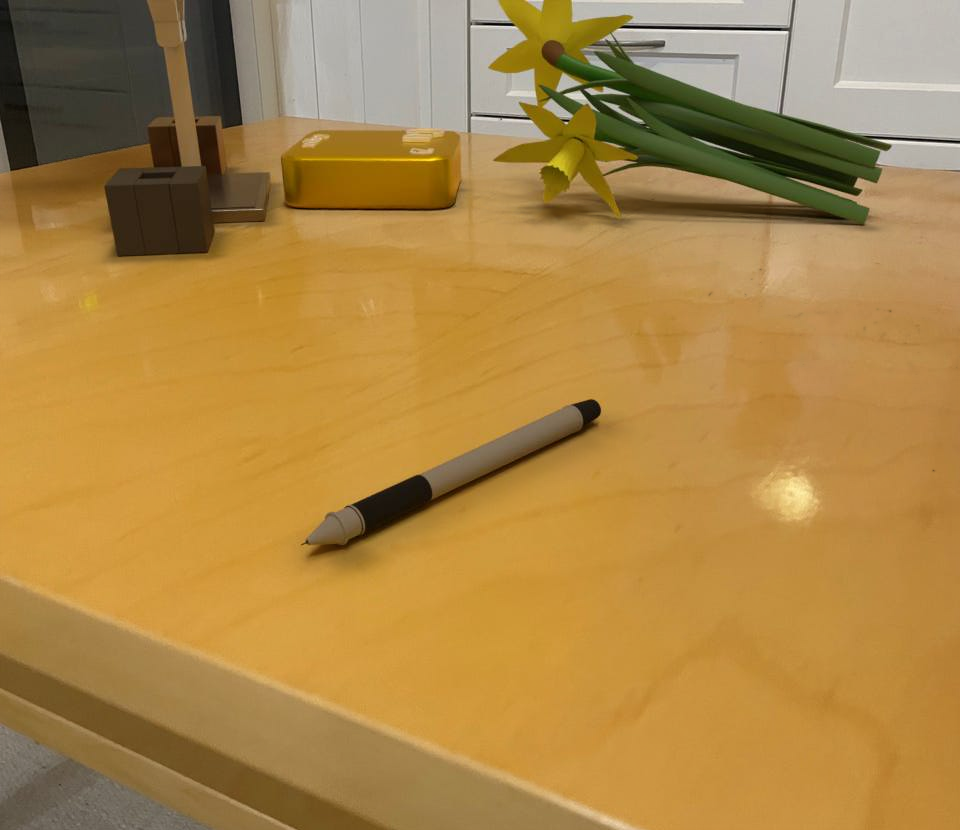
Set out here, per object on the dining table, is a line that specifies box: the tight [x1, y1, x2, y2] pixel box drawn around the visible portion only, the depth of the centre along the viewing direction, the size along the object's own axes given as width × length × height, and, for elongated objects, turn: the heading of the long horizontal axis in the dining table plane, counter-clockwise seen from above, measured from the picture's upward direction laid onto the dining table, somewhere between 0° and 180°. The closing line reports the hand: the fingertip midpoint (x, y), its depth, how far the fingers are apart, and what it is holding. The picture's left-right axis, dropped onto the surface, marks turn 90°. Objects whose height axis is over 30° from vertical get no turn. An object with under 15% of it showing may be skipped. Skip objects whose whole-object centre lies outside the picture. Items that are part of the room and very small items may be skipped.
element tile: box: [280, 127, 462, 210], centre depth 86 cm, size 15×15×5 cm
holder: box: [103, 166, 216, 257], centre depth 70 cm, size 6×6×5 cm
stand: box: [146, 115, 228, 174], centre depth 94 cm, size 6×6×5 cm
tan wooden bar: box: [163, 12, 201, 167], centre depth 78 cm, size 2×2×14 cm
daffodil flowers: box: [487, 0, 893, 226], centre depth 78 cm, size 17×15×35 cm
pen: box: [300, 398, 602, 546], centre depth 38 cm, size 1×16×1 cm, turn 135°
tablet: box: [207, 171, 272, 224], centre depth 83 cm, size 12×16×1 cm
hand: (173, 45), depth 75 cm, fingers closed on tan wooden bar, 1 cm apart
